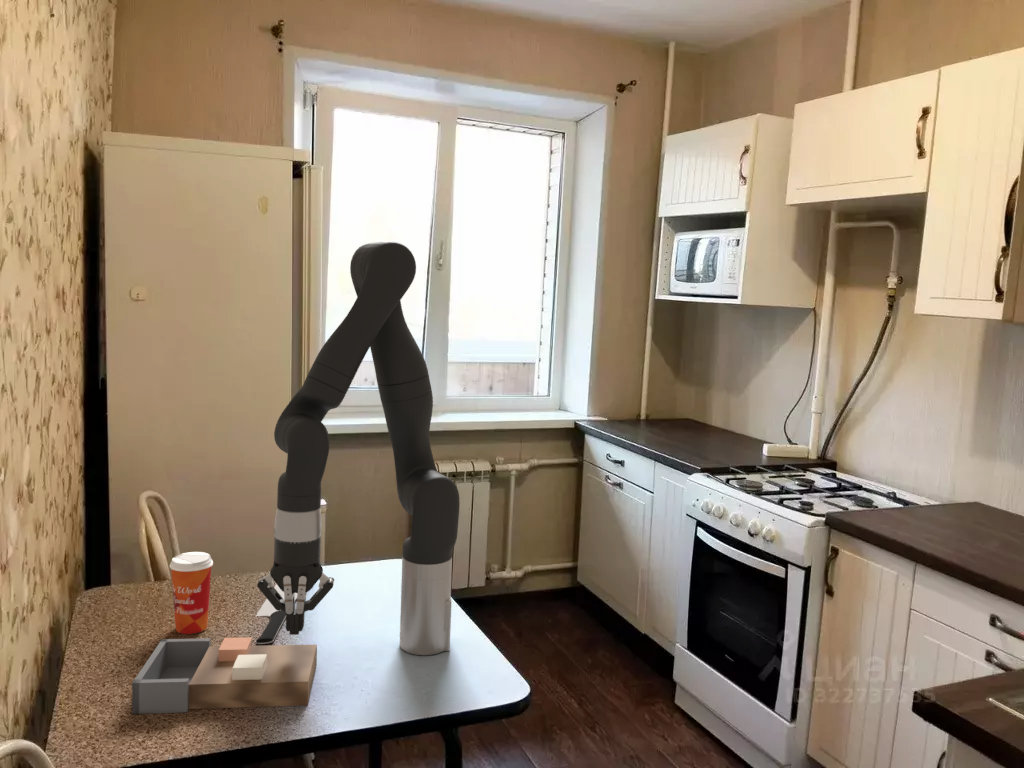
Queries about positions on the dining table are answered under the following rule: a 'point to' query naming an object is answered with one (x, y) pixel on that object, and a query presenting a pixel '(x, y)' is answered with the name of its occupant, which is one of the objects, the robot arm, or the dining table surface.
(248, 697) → the walnut board
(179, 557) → the paper cup
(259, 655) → the cream block
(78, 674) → the dining table surface
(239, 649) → the terracotta tile
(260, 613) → the kitchen cleaver
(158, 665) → the box
